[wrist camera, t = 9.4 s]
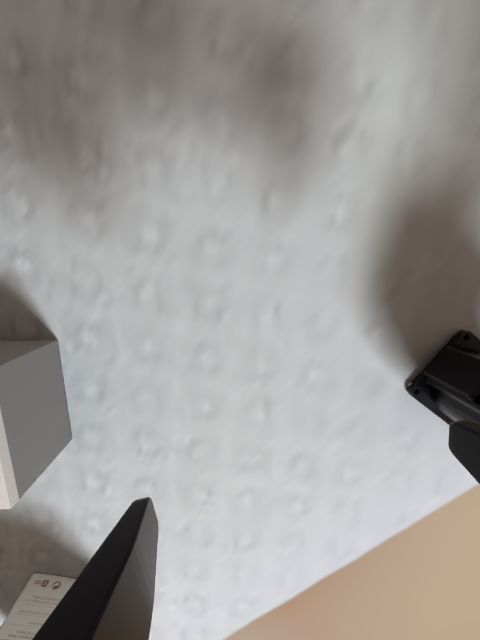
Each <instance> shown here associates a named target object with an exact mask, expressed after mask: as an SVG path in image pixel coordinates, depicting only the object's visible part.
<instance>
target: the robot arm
mask: <svg viewBox="0 0 480 640" xmlns="http://www.w3.org/2000/svg"><path fill="white" fill-rule="evenodd" d="M464 335H465V337H464ZM463 337H464V338H463ZM416 389H417V390H416ZM415 390H416V391H415ZM414 391H415V392H414ZM408 393H409V394H410V395H411V396H412V397H414V398H415V399H416V400H418V401H419V402H420V403H421V404H423V405H424V406H425V407H427V408H428V409H429V410H431V411H432V412H433V413H434V414H436V415H437V416H438V417H440V418H441V419H442V420H444V421H445V422H446V423H447V424H449V425H450V426H449V448H450V451H451V452H452V454H453V455H454V456H455V457H456V458H457V459H458V460H459V462H460V463H461V464H462V465H463V466H464V467H465V468H466V469H467V470H468V472H469V473H470V474H471V475H472V476H473V477H474V478H475V479H476V481H477V482H478V483H479V484H480V340H479V339H478V338H477V337H476V336H474V335H473V334H472V333H471V332H469V331H466V330H461V331H459V332H458V333H457V334H456V335H455V336H454V337H453V338H452V339H451V340H450V341H449V343H448V344H447V345H446V346H445V347H444V348H443V349H442V350H441V352H440V353H439V354H438V355H437V356H436V357H435V358H434V359H433V360H432V362H431V363H430V364H429V365H428V366H427V367H426V368H425V369H424V370H423V372H422V373H421V374H420V375H419V376H418V377H417V378H416V379H415V380H414V382H413V383H412V384H411V385H410V386H409V387H408ZM157 542H158V520H157V517H156V513H155V510H154V506H153V503H152V500H151V498H149V497H146V498H142V499H138V500H135V501H134V502H133V503H132V504H131V505H130V507H129V508H128V509H127V511H126V512H125V514H124V515H123V516H122V518H121V519H120V520H119V522H118V523H117V524H116V526H115V527H114V528H113V530H112V531H111V533H110V534H109V535H108V537H107V538H106V539H105V541H104V542H103V543H102V545H101V546H100V548H99V549H98V550H97V552H96V553H95V554H94V556H93V557H92V558H91V560H90V561H89V562H88V564H87V565H86V567H85V568H84V569H83V571H82V572H81V573H80V575H79V576H78V577H77V579H76V580H75V582H74V583H73V584H72V586H71V587H70V588H69V590H68V591H67V592H66V594H65V595H64V596H63V598H62V599H61V601H60V602H59V603H58V605H57V606H56V607H55V609H54V610H53V611H52V613H51V614H50V616H49V617H48V618H47V620H46V621H45V622H44V624H43V625H42V626H41V628H40V629H39V631H38V632H37V633H36V635H35V636H34V637H33V639H32V640H149V633H150V626H151V619H152V612H153V603H154V590H155V574H156V558H157Z"/></svg>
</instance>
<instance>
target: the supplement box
mask: <svg viewBox="0 0 480 640" xmlns="http://www.w3.org/2000/svg"><path fill="white" fill-rule="evenodd" d="M75 580H76V579H75V578H69V577H63V576H55V575H49V574H42V573H34V574H33V575H32V576H31V578H30V580H29V581H28V583H27V585H26V586H25V588H24V589H23V591H22V593H21V594H20V596H19V598H18V599H17V601H16V603H15V604H14V606H13V607H12V609H11V611H10V612H9V614H8V616H7V617H6V619H5V621H4V622H3V624H2V625H1V627H0V640H32V639H33V637H34V636H35V635H36V633H37V632H38V631H39V629H40V628H41V626H42V625H43V624H44V622H45V621H46V620H47V618H48V617H49V616H50V614H51V613H52V611H53V610H54V609H55V607H56V606H57V605H58V603H59V602H60V601H61V599H62V598H63V596H64V595H65V594H66V592H67V591H68V590H69V588H70V587H71V586H72V584H73V583H74V582H75Z"/></svg>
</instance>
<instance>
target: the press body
mask: <svg viewBox="0 0 480 640" xmlns="http://www.w3.org/2000/svg"><path fill="white" fill-rule="evenodd" d="M71 440H72V434H71V427H70V421H69V414H68V407H67V401H66V394H65V387H64V381H63V374H62V367H61V361H60V354H59V347H58V340H27V341H0V509H11V508H12V507H13V506H14V505H15V503H16V502H17V501H18V500H19V499H20V498H21V497H22V495H23V494H24V493H25V492H26V491H27V490H28V489H29V487H30V486H31V485H32V484H33V483H34V482H35V481H36V479H37V478H38V477H39V476H40V475H41V474H42V473H43V472H44V470H45V469H46V468H47V467H48V466H49V465H50V464H51V462H52V461H53V460H54V459H55V458H56V457H57V456H58V454H59V453H60V452H61V451H62V450H63V449H64V448H65V446H66V445H67V444H68V443H69V442H70V441H71Z"/></svg>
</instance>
